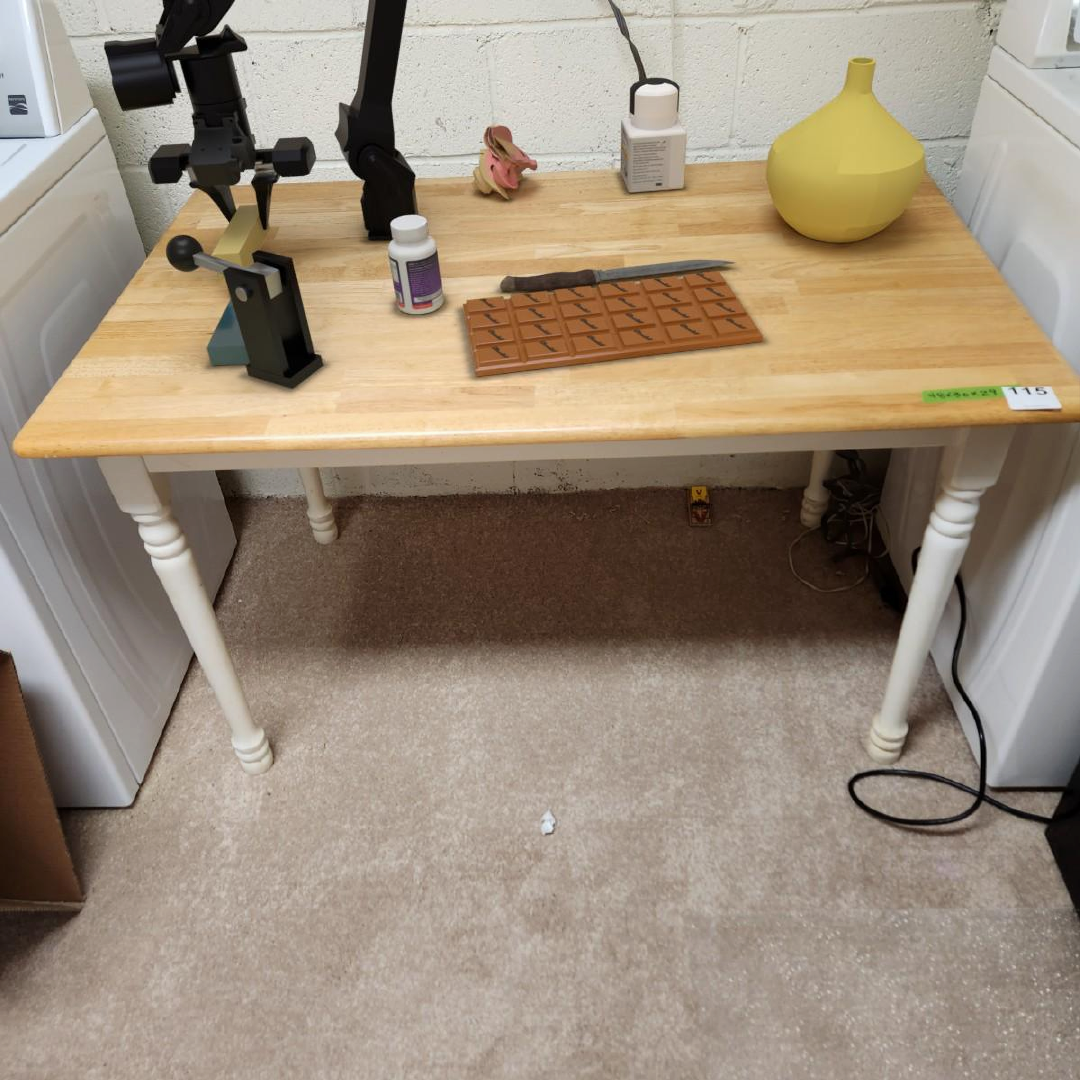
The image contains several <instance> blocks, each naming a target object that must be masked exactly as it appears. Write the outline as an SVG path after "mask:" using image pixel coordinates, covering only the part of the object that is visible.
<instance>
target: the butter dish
mask: <svg viewBox="0 0 1080 1080" xmlns="http://www.w3.org/2000/svg"><path fill="white" fill-rule="evenodd" d="M206 351H207V354H208V358H209V361H210V364H211V366H212V367H215V366H233V365H234V366H235V365H247V364H248V363H250V361H249V358H248V354H247V351H246V348H245V344H244V341H243V338H242V334H241V331H240V328H239V324H238V321H237V317H236V314H235V311H234V307H233V304H232V301H231V297H230V299H229V300H228V302H227V305H226V307H225V308H224V311H223V312H222V315H221V317H220V319H219V321H218V323H217V325H216V327H215V329H214V331H213V333H212V334H211V337H210V339H209V341H208V344H207V345H206Z"/></svg>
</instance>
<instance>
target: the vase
mask: <svg viewBox="0 0 1080 1080" xmlns="http://www.w3.org/2000/svg"><path fill="white" fill-rule="evenodd" d="M876 63H877V60H876V59H875V58H872V57H867V56H856V57H851V58H849V59H848V64H847V70H846V76H845V82H844V84H843V88H842V89H841V91H840V92H838V94H837V95H836V96H835V97H834V98H833V99H832V100H830V101H829V102H827V103H826V104H824V105H822V106H821V107H820V108H819V109H817V110H816V111H814V112H813V113H811V114H810V115H808V116H807V117H806V118H804V119H802V120H801V121H799V122H798V123H796V124H794V125H793V126H790V128H788V129H786V130H785V131H784V132H782V133H780V134H779V135H778V136H777V137H776V138H775V139H774V140H773V143H772V144H771V146H770V149H769V151H768V153H767V158H766V170H765V180H766V182H767V185H768V190H769V193H770V197H771V201H772V203H773V204H774V207H775V208H776V210H777V211H778V212H779V215H781V217H782V219H783V220H784V222H785V223H787V225H788V226H790V227H791V228H792V229H794V230H795V231H796V232H797V233H798V234H800V235H802V236H804V237H806V238H809V239H811V240H816V241H820V242H827V243H852V242H858V241H861V240H864V239H867V238H869V237H872V236H874V235H876V234H878V233H879V232H881V231H882V230H885V228H887V227H888V226H889V225H891V224H892V223H893V222H894V221H895V220H896V219H898V218H899V217H900V216H902V214H903V213H904V211H905V210H906V208H907V207H908V205H909V204H910V203H911V201H912V200H913V198H914V196H915V195H916V193H917V192H918V190H919V189H920V187H921V186H922V183H923V180H924V176H925V172H926V167H927V162H926V155H925V149H924V145H923V144H922V143H921V142H920V141H919V140H918V139H917V138H916V137H915V136H914V135H913V134H912V133H911V132H910V131H909V130H907V128H905V126H903V125H902V124H901V123H900V122H899V121H898V120H897V119H896V118H895V117H894V116H893V115H892V113H890V112H889V111H888V110H887V108H886V107H884V106H883V105H882V104H881V103H880V102H879V101H878V99H877V97H876V95H875V93H874V91H873V80H874V75H875V70H876Z"/></svg>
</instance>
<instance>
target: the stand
mask: <svg viewBox="0 0 1080 1080" xmlns="http://www.w3.org/2000/svg"><path fill="white" fill-rule="evenodd" d="M252 257H253V261H254V263H256V262H259V263H262V264H264V265H267V266H270V267H273V268H276V269H278V270H279V273H280V279H281V285H282V292H281V293H280V294H278V295H276V296H275V297H273V298H272V299H271V298H270V295H269V291H268V287H267V283H266V279H265V276H264V275H263V274H258V273H254V272H250V271H246V270H242V269H238V268H234V267H228V268H227V269H225V270H223V274H224V277H225V280H224V281H225V284H226V287H227V290H228V293H229V297H230V298H231V301H232V304H233V307H234V311H235V314H236V317H237V321H238V324H239V328H240V331H241V334H242V338H243V341H244V344H245V348H246V351H247V354H248V358H249V361H250V363H248V364H245V369H246V372H247V375H248V376H250V377H252V378H256V379H259V380H263V381H266V382H270V383H273V384H276V385H279V386H283V387H286V388H290V389H294V388H295V387H297V386H298V385H299V384H301V383H302V382H303V381H304V380H306V379H307V378H308V377H310V376H311V375H313V374H314V373H315V372H316V371H318V370H320V369H321V367H323V366H324V361H323V357H322V355H321V354H318V353H316V351H315V347H314V343H313V339H312V335H311V330H310V327H309V323H308V318H307V314H306V310H305V306H304V302H303V297H302V293H301V288H300V284H299V281H298V277H297V272H296V268H295V264H294V260H293V257H291V256H286V255H282V254H277V253H275V252H274V253H273V252H270V251H265V250H261V249H260V250H257V251H255V252H254V253H252ZM254 263H253V264H254Z"/></svg>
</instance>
